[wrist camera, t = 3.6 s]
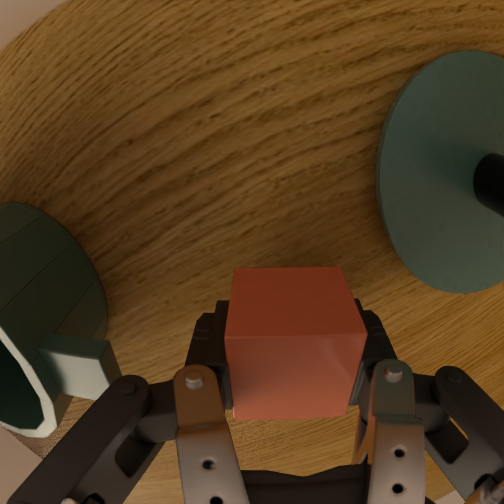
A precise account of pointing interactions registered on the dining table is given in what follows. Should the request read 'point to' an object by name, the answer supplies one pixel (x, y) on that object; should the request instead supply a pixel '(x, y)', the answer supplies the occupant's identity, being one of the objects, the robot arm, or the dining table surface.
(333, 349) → the block
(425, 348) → the dining table surface
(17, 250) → the pot
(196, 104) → the dining table surface
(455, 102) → the lid
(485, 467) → the robot arm
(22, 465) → the grater
